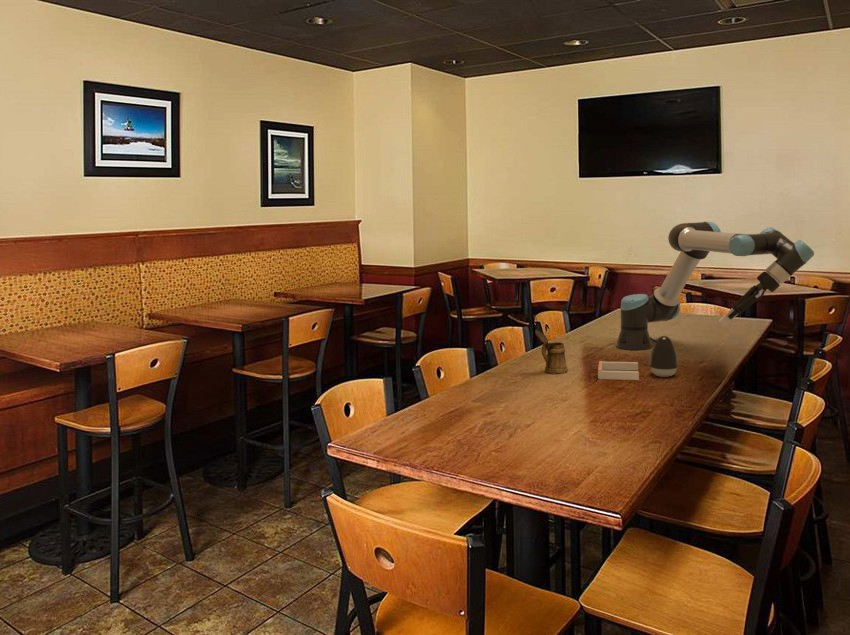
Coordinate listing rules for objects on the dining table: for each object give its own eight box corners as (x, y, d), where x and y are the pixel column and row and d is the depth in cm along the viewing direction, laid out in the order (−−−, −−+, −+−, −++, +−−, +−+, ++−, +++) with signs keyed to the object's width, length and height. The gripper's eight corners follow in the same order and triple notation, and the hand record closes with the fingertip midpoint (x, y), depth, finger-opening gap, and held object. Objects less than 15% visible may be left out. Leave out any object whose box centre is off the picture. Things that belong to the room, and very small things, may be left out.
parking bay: (599, 369, 286) (599, 360, 285) (638, 369, 282) (638, 361, 281) (597, 378, 270) (597, 370, 270) (638, 380, 266) (638, 371, 266)
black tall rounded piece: (653, 371, 279) (654, 332, 276) (681, 373, 273) (681, 334, 270) (645, 376, 270) (645, 337, 268) (673, 379, 265) (673, 339, 262)
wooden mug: (530, 372, 285) (529, 327, 283) (559, 367, 290) (559, 324, 288) (542, 376, 277) (541, 330, 275) (572, 372, 282) (571, 327, 280)
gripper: (784, 287, 249) (731, 334, 256) (776, 282, 262) (726, 327, 269) (768, 272, 250) (716, 319, 257) (761, 268, 263) (711, 313, 270)
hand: (721, 323), depth 263 cm, fingers closed
